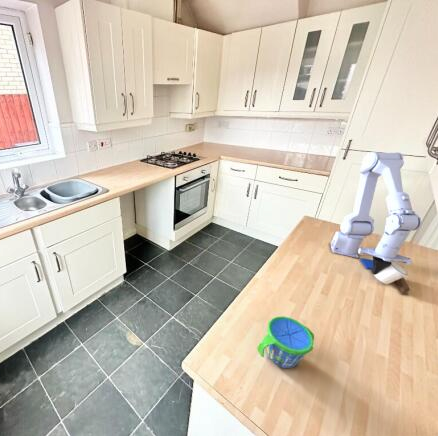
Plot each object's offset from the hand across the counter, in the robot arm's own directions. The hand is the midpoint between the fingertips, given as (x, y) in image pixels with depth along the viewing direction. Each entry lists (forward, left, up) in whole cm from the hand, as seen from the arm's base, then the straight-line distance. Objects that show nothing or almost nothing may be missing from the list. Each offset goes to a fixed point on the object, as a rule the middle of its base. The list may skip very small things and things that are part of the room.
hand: (373, 273), depth 93 cm
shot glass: (+2, 0, -2) cm, 3 cm away
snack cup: (-30, -50, -3) cm, 59 cm away
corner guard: (+5, 0, -3) cm, 6 cm away
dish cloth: (+3, +10, -3) cm, 10 cm away
